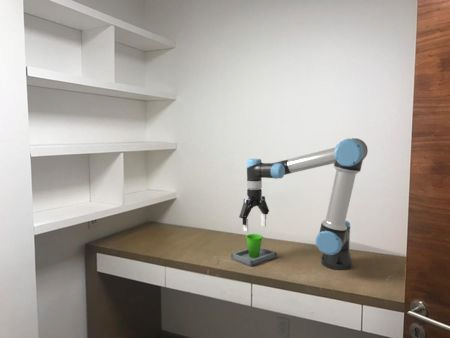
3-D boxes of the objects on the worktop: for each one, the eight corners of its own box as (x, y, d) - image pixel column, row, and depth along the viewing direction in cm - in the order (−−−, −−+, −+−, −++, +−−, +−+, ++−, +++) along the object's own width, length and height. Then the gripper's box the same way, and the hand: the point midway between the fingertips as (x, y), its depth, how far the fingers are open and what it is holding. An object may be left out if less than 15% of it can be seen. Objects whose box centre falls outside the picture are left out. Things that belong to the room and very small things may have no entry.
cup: (261, 260, 185) (261, 239, 184) (244, 258, 187) (244, 238, 186) (263, 254, 194) (263, 234, 193) (246, 253, 196) (246, 233, 195)
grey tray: (276, 257, 192) (276, 252, 191) (251, 266, 179) (251, 261, 179) (256, 250, 202) (256, 245, 202) (231, 259, 190) (231, 253, 189)
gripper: (264, 185, 198) (265, 222, 200) (231, 190, 181) (232, 231, 183) (275, 186, 192) (275, 225, 194) (242, 192, 175) (243, 234, 178)
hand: (254, 228), depth 189 cm, fingers open, 13 cm apart
